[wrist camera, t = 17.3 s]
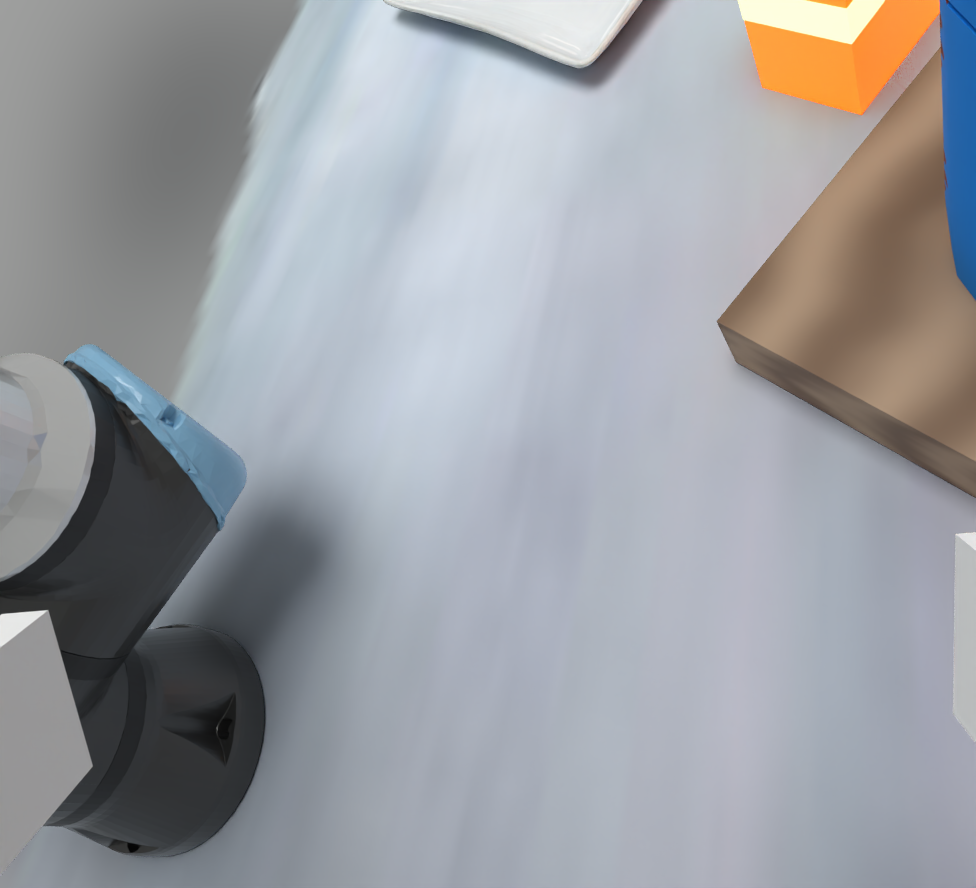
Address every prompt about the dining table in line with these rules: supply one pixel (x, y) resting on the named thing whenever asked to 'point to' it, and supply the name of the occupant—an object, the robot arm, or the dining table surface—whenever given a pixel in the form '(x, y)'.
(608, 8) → the square plate
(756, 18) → the orange juice
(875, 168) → the walnut riser
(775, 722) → the dining table surface
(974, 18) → the thermos
